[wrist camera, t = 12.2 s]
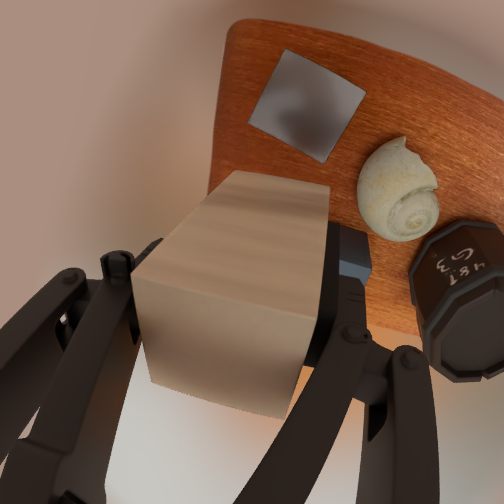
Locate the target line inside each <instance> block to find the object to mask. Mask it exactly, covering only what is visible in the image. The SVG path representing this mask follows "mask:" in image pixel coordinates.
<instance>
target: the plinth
mask: <svg viewBox="0 0 504 504" xmlns="http://www.w3.org/2000/svg"><path fill="white" fill-rule="evenodd" d="M366 93H367V91H365V90H363V89H362V88H360V87H358V86H357V85H355V84H353V83H352V82H350V81H348V80H346V79H345V78H343V77H341V76H339V75H337V74H336V73H334V72H332V71H330V70H328V69H326V68H325V67H323V66H321V65H319V64H317V63H315V62H313V61H311V60H309V59H307V58H305V57H303V56H301V55H299V54H297V53H295V52H293V51H290V50H288V49H285V50H284V52H283V54H282V56H281V58H280V60H279V61H278V63H277V65H276V67H275V69H274V71H273V73H272V75H271V77H270V79H269V81H268V83H267V84H266V86H265V88H264V90H263V92H262V94H261V96H260V98H259V100H258V102H257V104H256V106H255V108H254V110H253V112H252V114H251V116H250V118H249V120H248V122H247V123H248V124H250V125H252V126H254V127H256V128H258V129H260V130H262V131H263V132H265V133H267V134H269V135H271V136H273V137H275V138H277V139H279V140H281V141H282V142H284V143H286V144H288V145H290V146H292V147H294V148H295V149H297V150H299V151H301V152H303V153H304V154H306V155H308V156H310V157H311V158H313V159H315V160H317V161H318V162H320V163H322V164H325V162H326V160H327V159H328V157H329V155H330V154H331V152H332V150H333V149H334V147H335V145H336V144H337V142H338V140H339V139H340V137H341V135H342V134H343V132H344V130H345V129H346V127H347V125H348V124H349V122H350V120H351V119H352V117H353V115H354V113H355V112H356V110H357V108H358V107H359V105H360V103H361V102H362V100H363V98H364V97H365V95H366Z"/></svg>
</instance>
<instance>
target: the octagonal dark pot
mask: <svg viewBox="0 0 504 504" xmlns="http://www.w3.org/2000/svg"><path fill="white" fill-rule="evenodd" d="M408 274H409V282H410V291H411V300H412V304H413V305H414V306H415V307H416V316H417V323H418V328H419V333H420V337H421V340H422V343H423V354H424V355H425V356H426V358H427V360H428V364H429V365H430V366H431V367H433V368H434V369H435V370H436V371H438V372H439V373H441V374H442V375H443V376H445V377H446V378H448V379H449V380H450V381H452V382H453V383H460V382H480V381H481V378H482V376H483V377H485V378H486V379H490V378H492V377H494V376H496V375H498V374H500V373H502V372H504V235H503V234H502V232H501V231H500V230H499V228H498V227H497V226H496V225H495V224H494V223H489V222H481V221H472V220H463V219H459V220H456V221H454V222H452V223H451V224H449V225H447V226H445V227H444V228H442V229H440V230H438V231H437V232H435V233H433V234H431V235H430V236H428V238H427V239H426V241H425V242H424V244H423V246H422V248H421V250H420V252H419V253H418V255H417V257H416V259H415V260H414V262H413V264H412V266H411V267H410V269H409V273H408Z"/></svg>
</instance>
